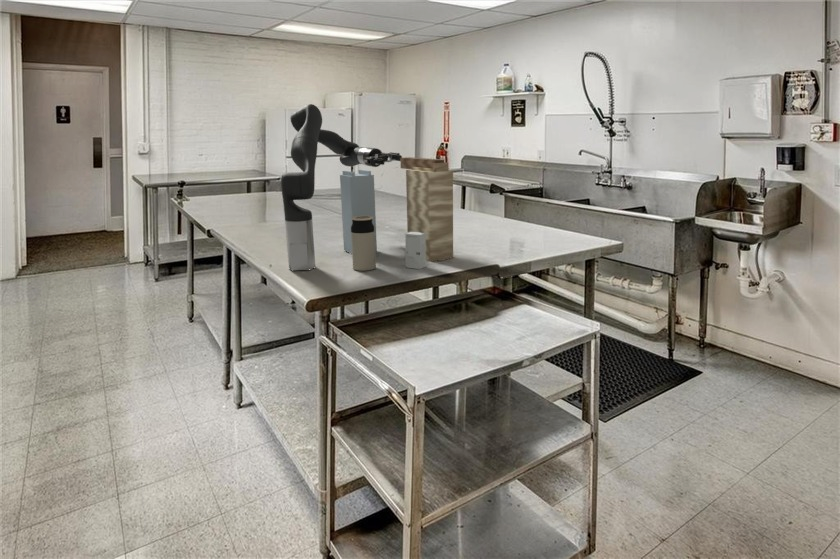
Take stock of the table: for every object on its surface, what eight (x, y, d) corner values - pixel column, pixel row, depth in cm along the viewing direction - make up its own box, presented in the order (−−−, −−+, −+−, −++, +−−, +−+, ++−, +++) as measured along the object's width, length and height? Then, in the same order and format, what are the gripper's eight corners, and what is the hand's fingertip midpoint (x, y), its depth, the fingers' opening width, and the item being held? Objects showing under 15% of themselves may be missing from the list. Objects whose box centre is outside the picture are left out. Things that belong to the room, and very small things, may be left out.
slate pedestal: (376, 251, 220) (373, 170, 212) (354, 255, 215) (349, 172, 207) (366, 248, 228) (363, 169, 219) (344, 251, 223) (339, 171, 214)
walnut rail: (444, 171, 199) (444, 159, 198) (435, 171, 197) (435, 160, 196) (409, 167, 218) (409, 157, 217) (400, 168, 216) (400, 157, 215)
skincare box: (405, 267, 195) (404, 233, 192) (411, 264, 199) (410, 231, 196) (420, 269, 192) (419, 234, 189) (426, 266, 196) (426, 232, 193)
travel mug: (380, 268, 195) (378, 216, 190) (363, 272, 189) (361, 219, 185) (365, 264, 200) (362, 214, 195) (348, 269, 195) (345, 217, 190)
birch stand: (453, 257, 208) (452, 162, 199) (430, 261, 203) (429, 163, 194) (429, 250, 221) (428, 160, 212) (408, 253, 216) (405, 161, 207)
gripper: (354, 150, 228) (376, 153, 216) (383, 145, 236) (406, 147, 223) (356, 169, 230) (378, 172, 218) (385, 163, 238) (407, 166, 226)
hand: (392, 160), depth 221 cm, fingers open, 8 cm apart
